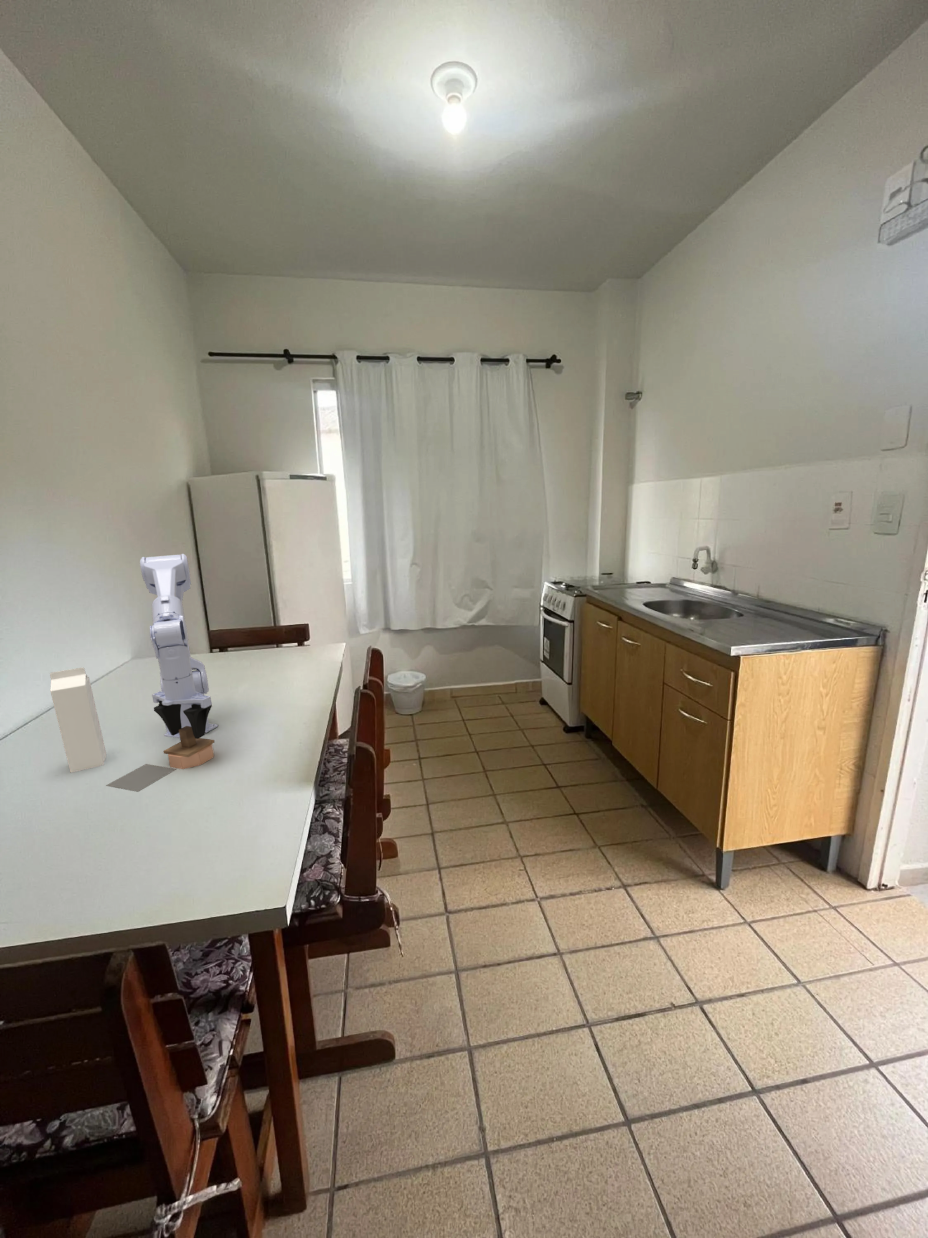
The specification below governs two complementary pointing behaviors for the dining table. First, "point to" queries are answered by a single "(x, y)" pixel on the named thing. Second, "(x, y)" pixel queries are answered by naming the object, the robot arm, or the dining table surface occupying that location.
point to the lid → (188, 743)
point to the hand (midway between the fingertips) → (188, 735)
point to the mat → (141, 777)
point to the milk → (77, 719)
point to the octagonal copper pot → (192, 758)
